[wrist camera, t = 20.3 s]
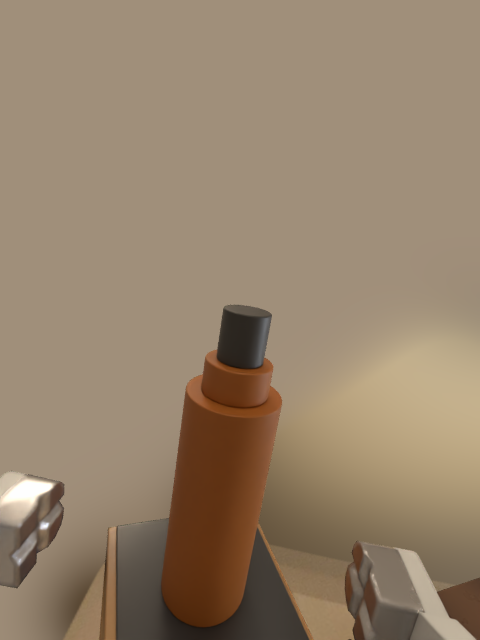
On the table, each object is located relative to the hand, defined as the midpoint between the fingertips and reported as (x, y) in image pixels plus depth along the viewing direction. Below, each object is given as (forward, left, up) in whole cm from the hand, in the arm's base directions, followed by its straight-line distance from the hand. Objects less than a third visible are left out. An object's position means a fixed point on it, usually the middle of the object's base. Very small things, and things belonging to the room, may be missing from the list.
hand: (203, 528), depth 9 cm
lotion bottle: (+3, +6, -11) cm, 13 cm away
